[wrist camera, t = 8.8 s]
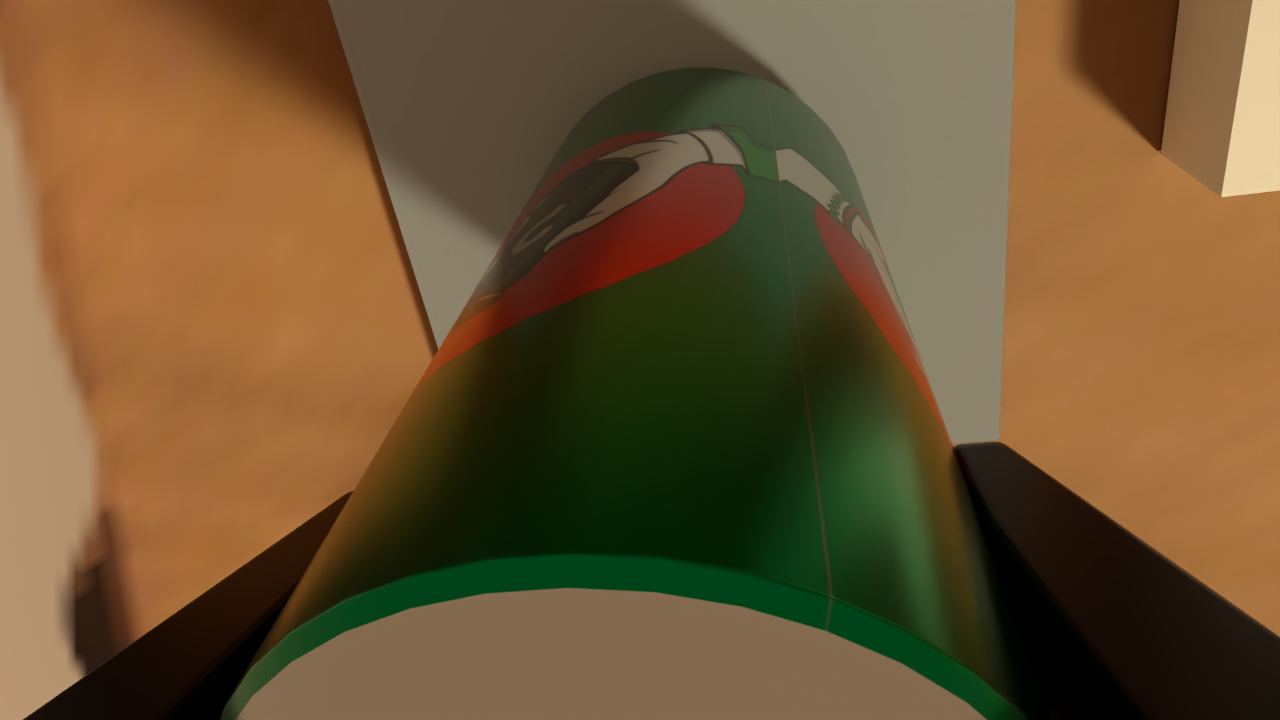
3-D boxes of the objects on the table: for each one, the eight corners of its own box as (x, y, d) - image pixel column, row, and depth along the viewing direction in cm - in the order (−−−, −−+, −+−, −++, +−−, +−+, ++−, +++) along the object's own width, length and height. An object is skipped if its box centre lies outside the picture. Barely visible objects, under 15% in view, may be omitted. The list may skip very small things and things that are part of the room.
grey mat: (992, 424, 17) (999, 440, 16) (486, 465, 18) (479, 480, 18) (1012, -193, 12) (1023, -195, 11) (322, -62, 13) (309, -60, 13)
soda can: (511, 289, 16) (63, 1157, 5) (608, 4, 13) (113, 592, 3) (773, 389, 16) (840, 1364, 6) (915, 134, 14) (1489, 1047, 3)
